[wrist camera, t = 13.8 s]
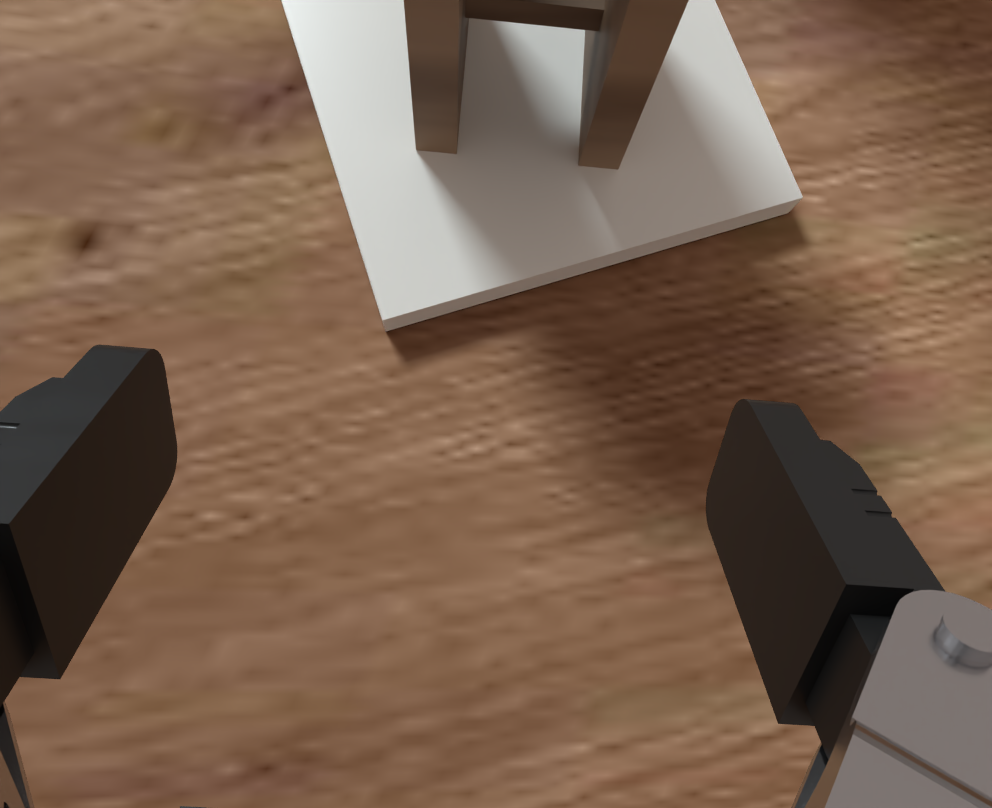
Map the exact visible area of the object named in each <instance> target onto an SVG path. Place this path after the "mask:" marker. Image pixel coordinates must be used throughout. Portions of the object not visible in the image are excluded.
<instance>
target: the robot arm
mask: <svg viewBox="0 0 992 808" xmlns="http://www.w3.org/2000/svg"><path fill="white" fill-rule="evenodd" d="M176 462H177V441H176V434H175V428H174V422H173V415H172V409H171V403H170V397H169V390H168V384H167V378H166V371H165V366H164V362H163V359H162V356H161V354H160V353H159V352H158V351H157V350H155V349H146V348H134V347H122V346H110V345H96V346H94V347H92V348H91V349H90V350H89V351H88V352H87V353H86V354H85V355H84V356H83V358H82V359H81V360H80V361H79V362H78V363H77V364H76V365H75V366H74V367H73V368H72V369H71V370H70V371H69V372H68V373H67V375H66V376H65V377H64V378H54V377H52V378H50V379H48V380H46V381H45V382H43V383H41V384H39V385H37V386H35V387H33V388H31V389H29V390H27V391H26V392H24V393H22V394H20V395H18V396H16V397H15V398H14V399H13V400H12V401H11V402H10V403H9V404H8V405H7V406H6V407H5V408H4V409H3V410H2V411H1V412H0V808H34V804H33V800H32V796H31V793H30V789H29V785H28V781H27V777H26V774H25V770H24V766H23V762H22V758H21V755H20V751H19V747H18V743H17V740H16V736H15V732H14V728H13V724H12V721H11V717H10V713H9V711H8V708H7V706H6V703H5V699H6V697H7V696H8V694H9V693H10V691H11V689H12V688H13V686H14V685H15V683H16V681H17V680H18V678H19V677H31V678H48V679H61V677H62V675H63V673H64V672H65V670H66V668H67V666H68V665H69V663H70V661H71V659H72V658H73V656H74V654H75V652H76V650H77V649H78V647H79V645H80V643H81V642H82V640H83V638H84V636H85V635H86V633H87V631H88V629H89V628H90V626H91V624H92V622H93V621H94V619H95V617H96V615H97V614H98V612H99V610H100V608H101V607H102V605H103V603H104V601H105V600H106V598H107V596H108V594H109V593H110V591H111V589H112V587H113V586H114V584H115V582H116V580H117V579H118V577H119V575H120V573H121V572H122V570H123V568H124V566H125V565H126V563H127V561H128V559H129V558H130V556H131V554H132V552H133V551H134V549H135V547H136V545H137V543H138V542H139V540H140V538H141V536H142V535H143V533H144V531H145V529H146V528H147V526H148V524H149V522H150V521H151V519H152V517H153V515H154V514H155V512H156V510H157V508H158V507H159V505H160V503H161V501H162V500H163V498H164V496H165V494H166V493H167V491H168V489H169V487H170V485H171V483H172V480H173V477H174V473H175V469H176ZM891 514H892V512H891V510H890V509H889V507H888V506H887V504H886V503H885V501H884V500H883V498H882V497H881V496H877V490H876V488H875V487H874V485H873V484H872V482H871V481H870V479H869V478H868V476H867V475H866V473H865V472H864V470H863V469H862V467H861V466H860V464H858V463H857V462H856V461H855V460H853V459H852V458H851V457H850V456H848V455H847V454H846V453H845V452H843V451H842V450H841V449H840V448H838V447H837V446H836V445H835V444H833V443H832V442H831V441H826V440H820V439H819V437H818V436H817V434H816V433H815V431H814V429H813V428H812V426H811V425H810V423H809V421H808V420H807V418H806V417H805V415H804V414H803V412H802V410H801V409H800V408H799V406H798V405H796V404H794V403H785V402H773V401H760V400H748V399H741V400H740V401H738V402H737V403H736V405H735V406H734V408H733V410H732V413H731V416H730V419H729V422H728V425H727V428H726V431H725V435H724V438H723V441H722V444H721V447H720V450H719V453H718V457H717V460H716V463H715V466H714V469H713V472H712V475H711V479H710V482H709V485H708V490H707V497H706V517H707V523H708V527H709V531H710V533H711V536H712V539H713V542H714V545H715V547H716V550H717V553H718V556H719V559H720V561H721V564H722V567H723V570H724V573H725V576H726V578H727V581H728V584H729V587H730V590H731V592H732V595H733V598H734V601H735V604H736V606H737V609H738V612H739V615H740V618H741V620H742V623H743V626H744V629H745V632H746V634H747V637H748V640H749V643H750V646H751V649H752V651H753V654H754V657H755V660H756V663H757V665H758V668H759V671H760V674H761V677H762V679H763V682H764V685H765V688H766V691H767V693H768V696H769V699H770V702H771V705H772V707H773V710H774V713H775V716H776V719H777V722H778V724H792V725H810V726H815V728H816V730H817V733H818V735H819V738H820V740H821V744H820V745H819V747H818V749H817V751H816V753H815V755H814V756H813V758H812V760H811V763H810V765H809V767H808V770H807V772H806V774H805V777H804V779H803V782H802V784H801V786H800V789H799V791H798V793H797V796H796V798H795V800H794V803H793V805H792V807H791V808H992V610H991V609H989V608H987V607H985V606H983V605H981V604H979V603H978V602H975V601H973V600H970V599H968V598H966V597H963V596H960V595H957V594H953V593H949V592H945V590H944V589H943V587H942V586H941V584H940V583H939V581H938V580H937V578H936V577H935V575H934V574H933V572H932V571H931V569H930V568H929V566H928V565H927V564H926V562H925V561H924V559H923V558H922V556H921V555H920V553H919V552H918V550H917V549H916V547H915V546H914V544H913V543H912V541H911V540H910V538H909V537H908V535H907V534H906V532H905V531H904V529H903V528H902V527H901V525H900V524H899V522H898V521H897V519H896V518H892V516H891ZM180 808H204V807H184V806H180Z"/></svg>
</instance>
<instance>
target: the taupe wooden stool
mask: <svg viewBox="0 0 992 808" xmlns="http://www.w3.org/2000/svg"><path fill="white" fill-rule="evenodd" d="M688 1H689V0H404V11H405V23H406V35H407V48H408V60H409V72H410V84H411V97H412V109H413V121H414V134H415V146H416V150H419V151H430V152H440V153H450V154H457V145H458V134H459V123H460V112H461V102H462V91H463V80H464V69H465V58H466V47H467V36H468V25H469V18H474V19H483V20H493V21H503V22H512V23H522V24H531V25H541V26H551V27H560V28H570V29H580V30H585V42H584V61H583V81H582V100H581V120H580V139H579V158H578V166H586V167H596V168H606V169H617V170H618V169H619V167H620V164H621V162H622V159H623V157H624V155H625V152H626V150H627V147H628V145H629V143H630V140H631V138H632V135H633V133H634V131H635V128H636V126H637V123H638V121H639V119H640V116H641V114H642V111H643V109H644V107H645V104H646V102H647V99H648V97H649V95H650V92H651V90H652V87H653V85H654V83H655V80H656V78H657V75H658V73H659V71H660V68H661V66H662V63H663V61H664V58H665V56H666V54H667V51H668V49H669V46H670V44H671V42H672V39H673V37H674V34H675V32H676V30H677V27H678V25H679V22H680V20H681V18H682V15H683V13H684V10H685V8H686V6H687V3H688Z"/></svg>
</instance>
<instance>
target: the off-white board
mask: <svg viewBox="0 0 992 808" xmlns="http://www.w3.org/2000/svg"><path fill="white" fill-rule="evenodd" d="M281 2H282V5H283V8H284V11H285V14H286V18H287V21H288V24H289V27H290V30H291V33H292V37H293V40H294V43H295V46H296V49H297V52H298V56H299V59H300V62H301V65H302V68H303V71H304V75H305V78H306V81H307V84H308V87H309V90H310V94H311V97H312V100H313V103H314V106H315V109H316V113H317V116H318V119H319V122H320V125H321V129H322V132H323V135H324V138H325V141H326V144H327V148H328V151H329V154H330V157H331V160H332V163H333V167H334V170H335V173H336V176H337V179H338V182H339V186H340V189H341V192H342V195H343V198H344V201H345V205H346V208H347V211H348V214H349V217H350V220H351V224H352V227H353V230H354V233H355V236H356V239H357V243H358V246H359V249H360V252H361V255H362V258H363V262H364V265H365V268H366V271H367V274H368V278H369V281H370V284H371V287H372V290H373V293H374V297H375V300H376V303H377V306H378V309H379V312H380V316H381V319H382V322H383V325H384V328H385V331H389V330H393V329H396V328H399V327H403V326H406V325H410V324H413V323H416V322H420V321H423V320H427V319H430V318H433V317H437V316H440V315H444V314H447V313H450V312H454V311H457V310H461V309H464V308H467V307H471V306H474V305H478V304H481V303H484V302H488V301H491V300H495V299H498V298H501V297H505V296H508V295H512V294H515V293H518V292H522V291H525V290H529V289H532V288H535V287H539V286H542V285H546V284H549V283H552V282H556V281H559V280H563V279H566V278H569V277H573V276H576V275H580V274H583V273H586V272H590V271H593V270H597V269H600V268H603V267H607V266H610V265H614V264H617V263H620V262H624V261H627V260H631V259H634V258H637V257H641V256H644V255H647V254H651V253H654V252H658V251H661V250H664V249H668V248H671V247H675V246H678V245H681V244H685V243H688V242H692V241H695V240H698V239H702V238H705V237H709V236H712V235H715V234H719V233H722V232H726V231H729V230H732V229H736V228H739V227H743V226H746V225H749V224H753V223H756V222H760V221H763V220H766V219H770V218H773V217H777V216H780V215H783V214H787V213H789V212H790V211H791V210H792V209H793V208H794V206H795V205H796V204H797V203H798V202H799V201H800V200H801V199H802V198H803V197H802V194H801V192H800V190H799V188H798V185H797V183H796V181H795V179H794V176H793V174H792V172H791V170H790V167H789V165H788V163H787V161H786V158H785V156H784V154H783V152H782V150H781V147H780V145H779V143H778V141H777V138H776V136H775V134H774V132H773V129H772V127H771V125H770V123H769V120H768V118H767V116H766V114H765V111H764V109H763V107H762V105H761V103H760V100H759V98H758V96H757V94H756V91H755V89H754V87H753V85H752V82H751V80H750V78H749V76H748V73H747V71H746V69H745V67H744V64H743V62H742V60H741V58H740V55H739V53H738V51H737V49H736V47H735V44H734V42H733V40H732V38H731V35H730V33H729V31H728V29H727V26H726V24H725V22H724V20H723V17H722V15H721V13H720V11H719V8H718V6H717V4H716V2H715V0H689V1H688V3H687V6H686V8H685V10H684V13H683V15H682V18H681V20H680V22H679V25H678V27H677V30H676V32H675V34H674V37H673V39H672V42H671V44H670V46H669V49H668V51H667V54H666V56H665V58H664V61H663V63H662V66H661V68H660V71H659V73H658V75H657V78H656V80H655V83H654V85H653V87H652V90H651V92H650V95H649V97H648V99H647V102H646V104H645V107H644V109H643V111H642V114H641V116H640V119H639V121H638V123H637V126H636V128H635V131H634V133H633V135H632V138H631V140H630V143H629V145H628V147H627V150H626V152H625V155H624V157H623V159H622V162H621V164H620V167H619V169H618V170H617V169H606V168H596V167H586V166H578V158H579V139H580V120H581V100H582V81H583V61H584V42H585V30H580V29H570V28H560V27H551V26H541V25H531V24H522V23H512V22H503V21H493V20H483V19H474V18H469V25H468V36H467V47H466V58H465V69H464V80H463V91H462V102H461V112H460V123H459V134H458V145H457V154H450V153H440V152H430V151H419V150H416V146H415V134H414V121H413V109H412V97H411V84H410V72H409V60H408V48H407V35H406V23H405V11H404V0H281Z"/></svg>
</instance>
